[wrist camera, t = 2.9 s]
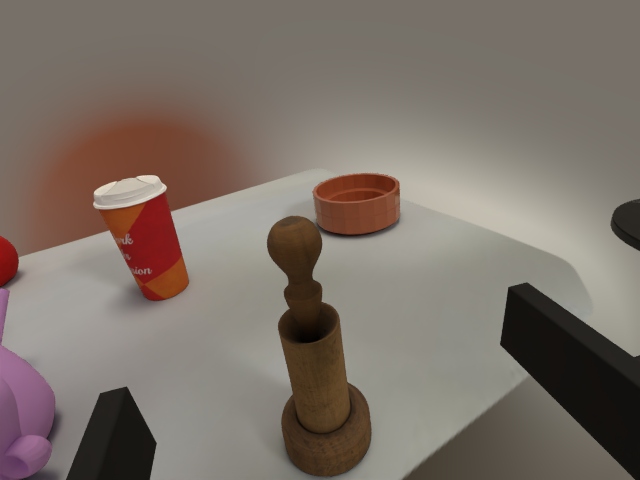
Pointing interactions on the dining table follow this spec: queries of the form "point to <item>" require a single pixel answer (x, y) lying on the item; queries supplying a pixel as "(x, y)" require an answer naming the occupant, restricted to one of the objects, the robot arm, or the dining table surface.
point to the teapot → (22, 412)
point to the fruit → (7, 261)
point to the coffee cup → (144, 234)
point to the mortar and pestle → (315, 362)
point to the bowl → (357, 203)
